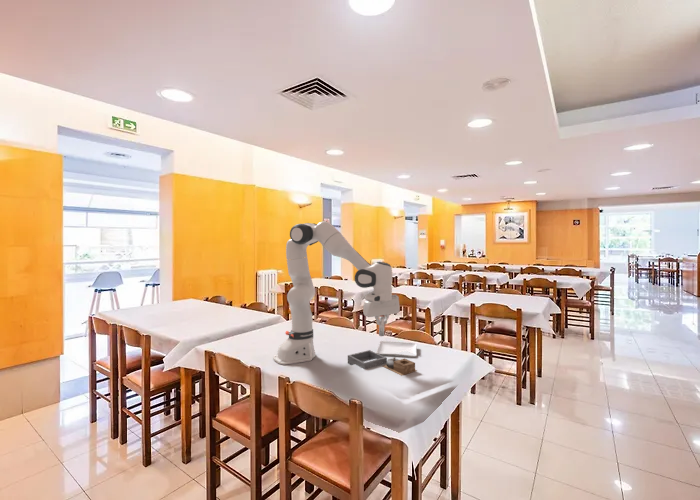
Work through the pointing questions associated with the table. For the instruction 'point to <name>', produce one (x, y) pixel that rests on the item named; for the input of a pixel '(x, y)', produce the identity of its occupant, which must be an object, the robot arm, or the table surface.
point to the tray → (366, 359)
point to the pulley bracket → (400, 366)
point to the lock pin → (381, 326)
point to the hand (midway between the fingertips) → (381, 324)
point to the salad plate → (396, 348)
